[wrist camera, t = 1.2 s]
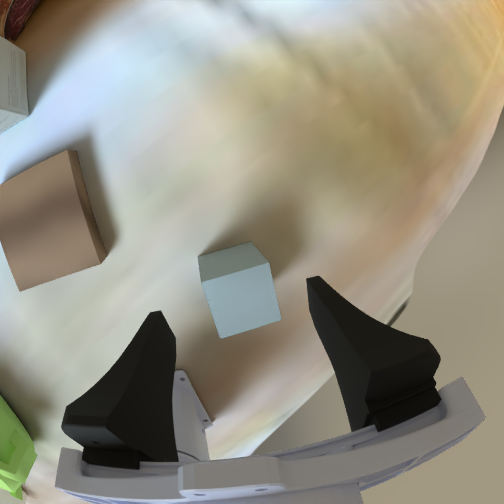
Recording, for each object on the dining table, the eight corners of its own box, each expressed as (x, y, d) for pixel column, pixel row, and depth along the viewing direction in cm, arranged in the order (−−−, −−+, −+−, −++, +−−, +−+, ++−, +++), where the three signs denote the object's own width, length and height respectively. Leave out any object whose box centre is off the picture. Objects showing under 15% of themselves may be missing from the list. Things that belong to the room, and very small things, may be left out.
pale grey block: (262, 289, 25) (281, 319, 20) (212, 304, 25) (220, 338, 19) (250, 241, 24) (269, 262, 19) (197, 256, 23) (201, 282, 18)
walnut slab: (108, 254, 22) (100, 264, 19) (31, 281, 20) (19, 291, 18) (78, 151, 19) (67, 149, 16) (2, 189, 18) (-13, 193, 15)
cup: (-17, 465, 24) (-26, 494, 15) (26, 491, 28) (20, 522, 19) (-13, 475, 25) (-21, 502, 16) (27, 498, 29) (21, 526, 20)
